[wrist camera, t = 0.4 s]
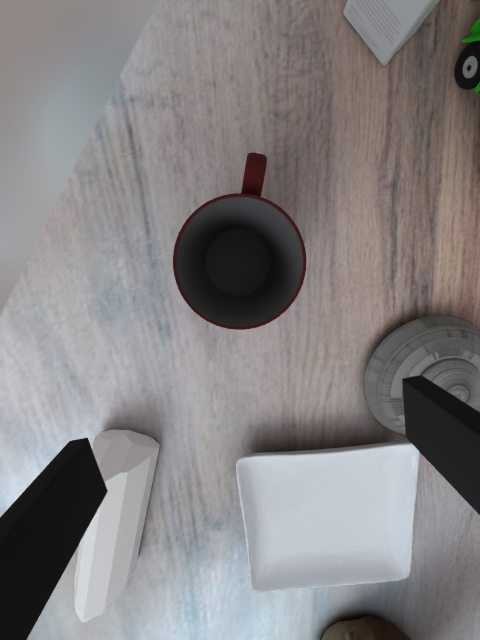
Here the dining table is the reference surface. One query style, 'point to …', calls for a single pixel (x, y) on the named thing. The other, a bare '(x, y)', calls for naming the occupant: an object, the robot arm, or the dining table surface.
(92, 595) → the crystal
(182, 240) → the mug
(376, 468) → the salad plate
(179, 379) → the dining table surface
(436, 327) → the flying saucer
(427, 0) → the cosmetic box
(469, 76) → the toy car
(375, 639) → the ceramic vessel
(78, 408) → the dining table surface
